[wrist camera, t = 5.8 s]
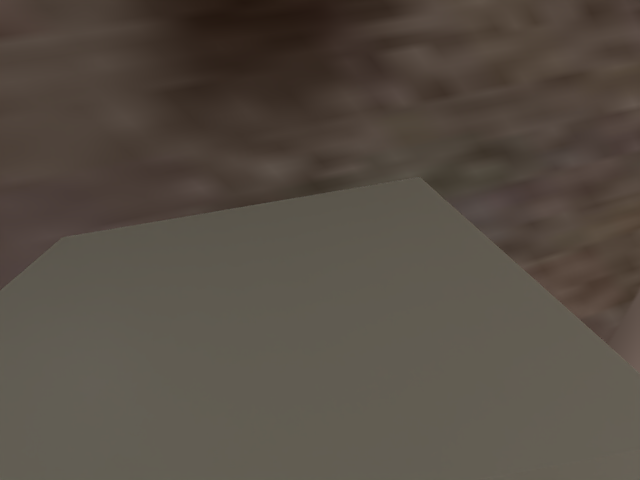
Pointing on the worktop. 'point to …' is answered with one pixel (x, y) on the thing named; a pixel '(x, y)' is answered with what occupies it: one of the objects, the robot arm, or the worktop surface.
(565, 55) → the worktop surface
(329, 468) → the pale sage box
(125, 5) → the worktop surface
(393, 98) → the worktop surface
